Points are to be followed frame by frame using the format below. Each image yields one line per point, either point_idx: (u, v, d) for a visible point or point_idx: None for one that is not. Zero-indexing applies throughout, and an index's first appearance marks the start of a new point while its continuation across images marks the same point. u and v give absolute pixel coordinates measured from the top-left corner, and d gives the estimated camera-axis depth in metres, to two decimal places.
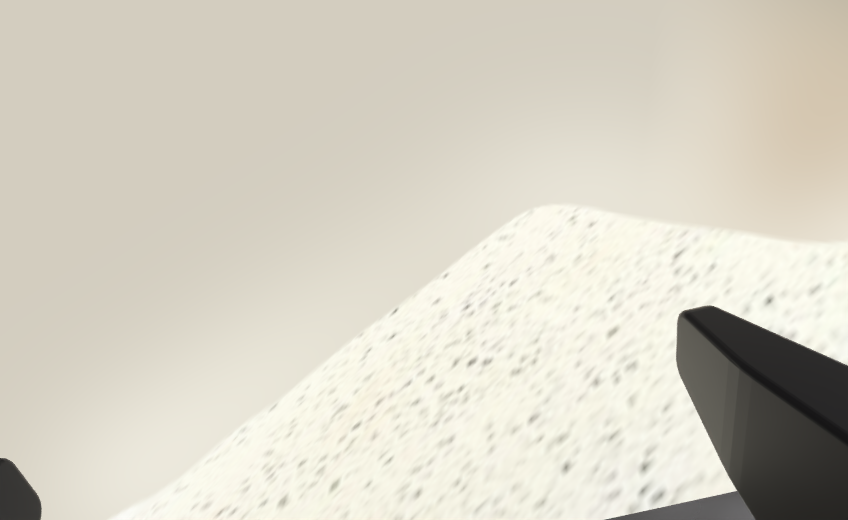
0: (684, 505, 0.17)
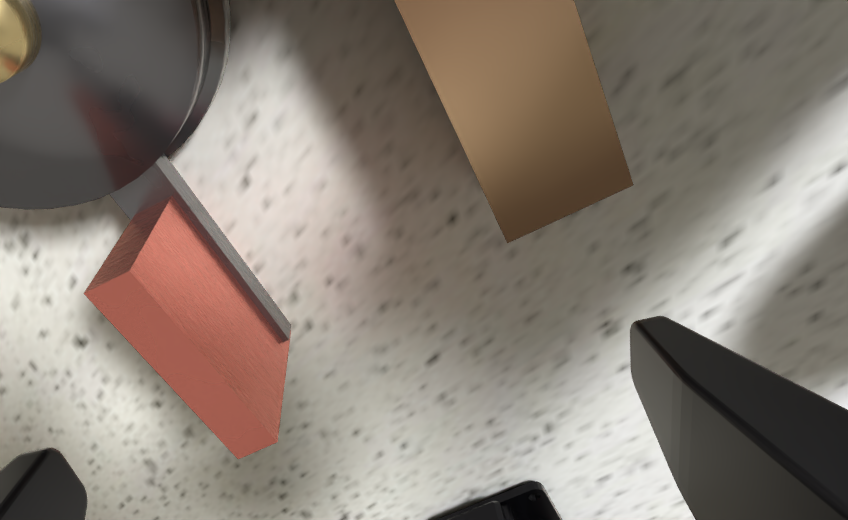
0: None
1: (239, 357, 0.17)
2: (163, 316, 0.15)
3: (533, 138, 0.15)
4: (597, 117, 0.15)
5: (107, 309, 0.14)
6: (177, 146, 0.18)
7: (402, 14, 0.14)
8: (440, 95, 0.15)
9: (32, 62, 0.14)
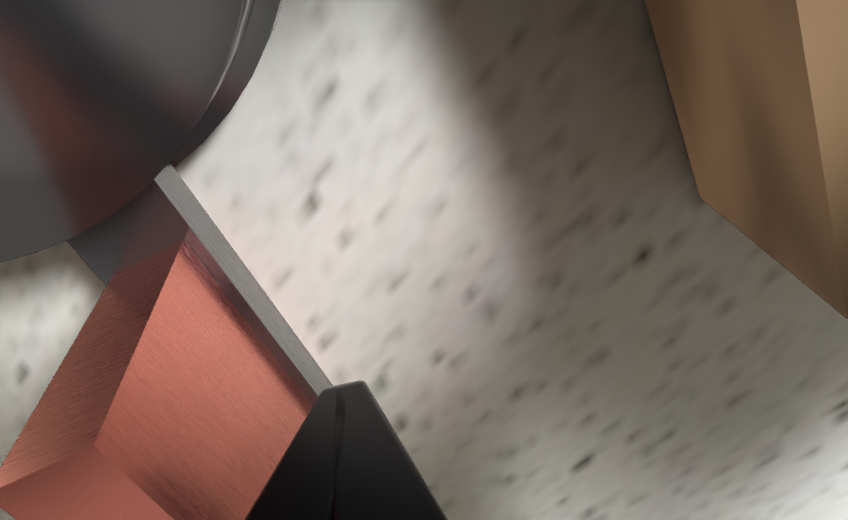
0: None
1: None
2: None
3: None
4: None
5: None
6: (197, 143, 0.10)
7: None
8: (801, 13, 0.06)
9: None
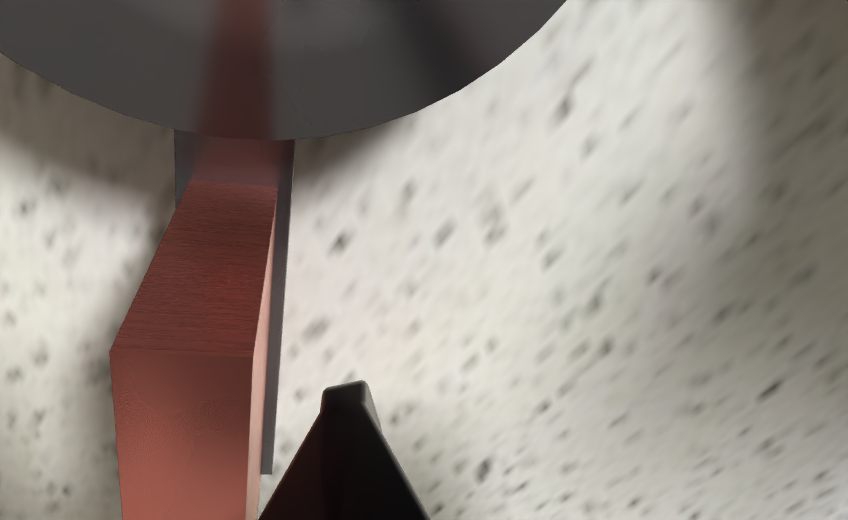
0: None
1: None
2: (235, 466, 0.06)
3: None
4: None
5: (131, 404, 0.06)
6: None
7: None
8: None
9: None
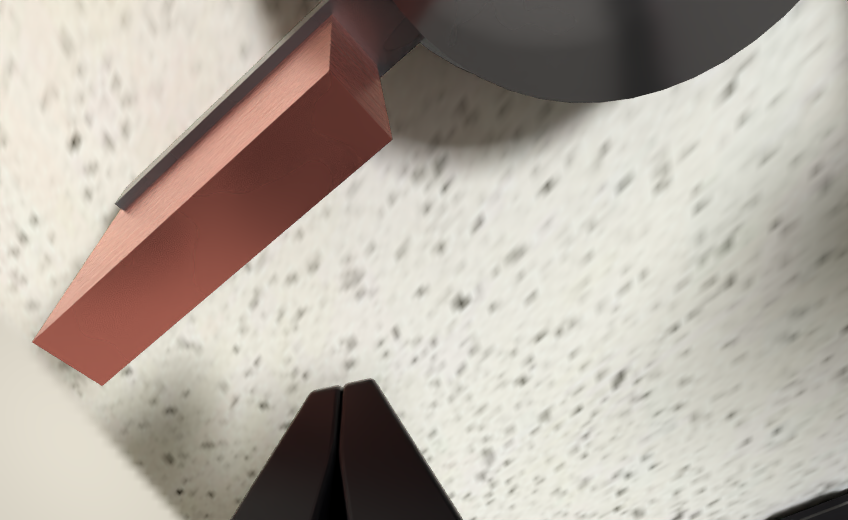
0: None
1: None
2: (313, 196, 0.09)
3: None
4: None
5: (303, 110, 0.08)
6: None
7: None
8: None
9: None
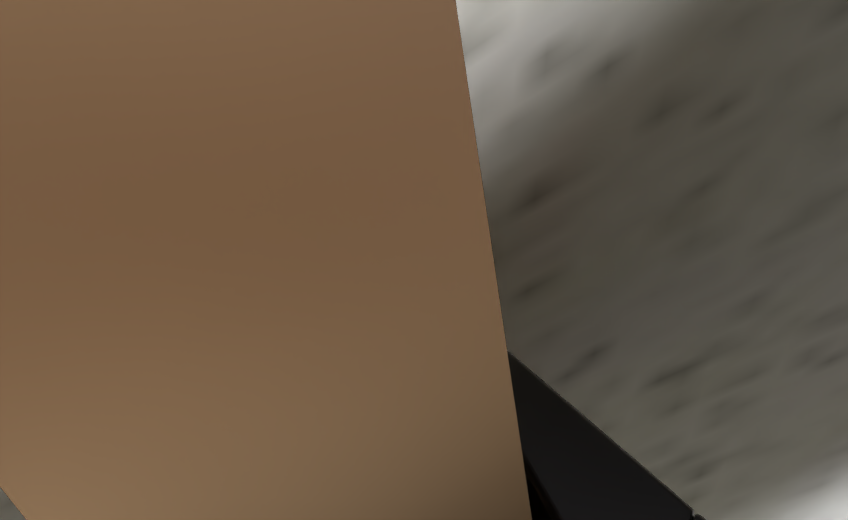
0: None
1: None
2: None
3: None
4: None
5: None
6: None
7: None
8: None
9: None
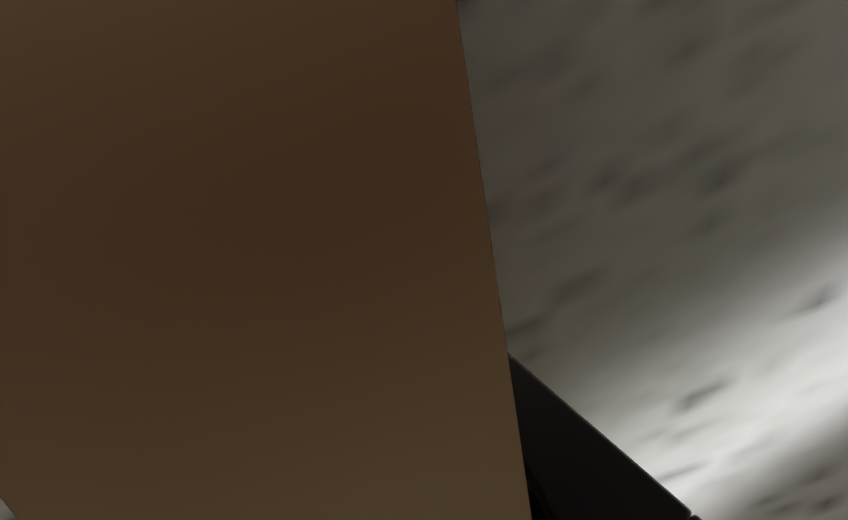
0: None
1: None
2: None
3: None
4: None
5: None
6: None
7: None
8: None
9: None
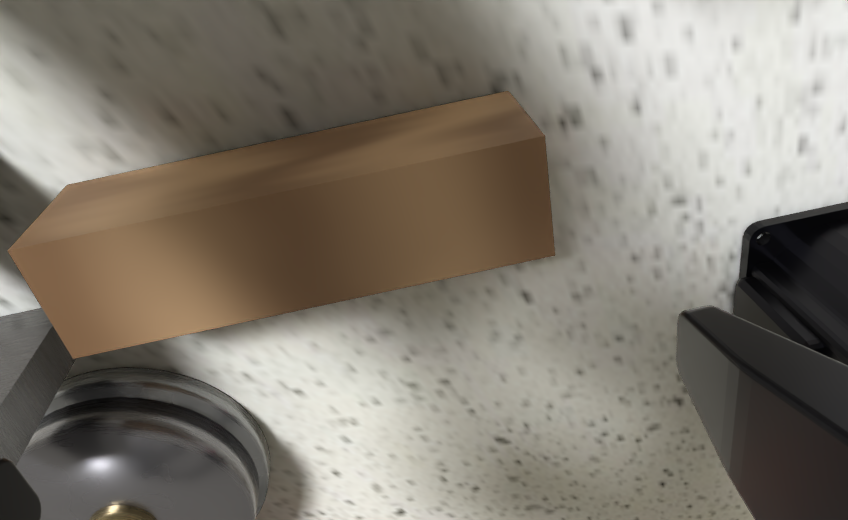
0: None
1: None
2: None
3: (462, 222, 0.17)
4: (462, 165, 0.16)
5: None
6: (247, 436, 0.24)
7: (330, 303, 0.17)
8: (400, 287, 0.18)
9: None
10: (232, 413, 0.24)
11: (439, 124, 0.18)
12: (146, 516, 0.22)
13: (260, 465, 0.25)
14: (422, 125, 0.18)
